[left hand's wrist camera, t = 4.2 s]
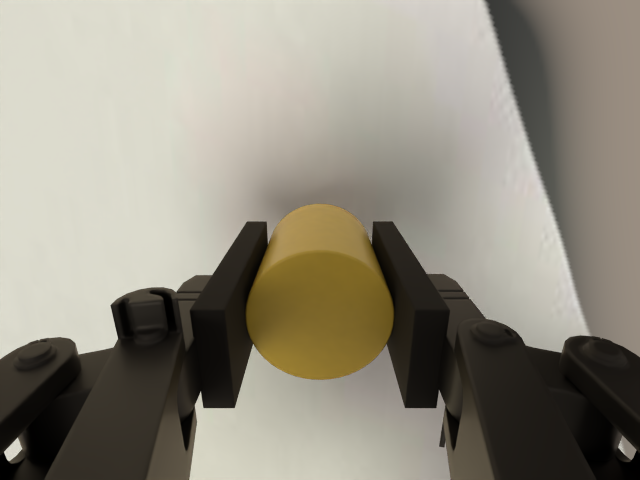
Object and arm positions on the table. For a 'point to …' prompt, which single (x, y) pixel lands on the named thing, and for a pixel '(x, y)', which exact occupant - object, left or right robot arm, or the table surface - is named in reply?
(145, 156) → the table surface
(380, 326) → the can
